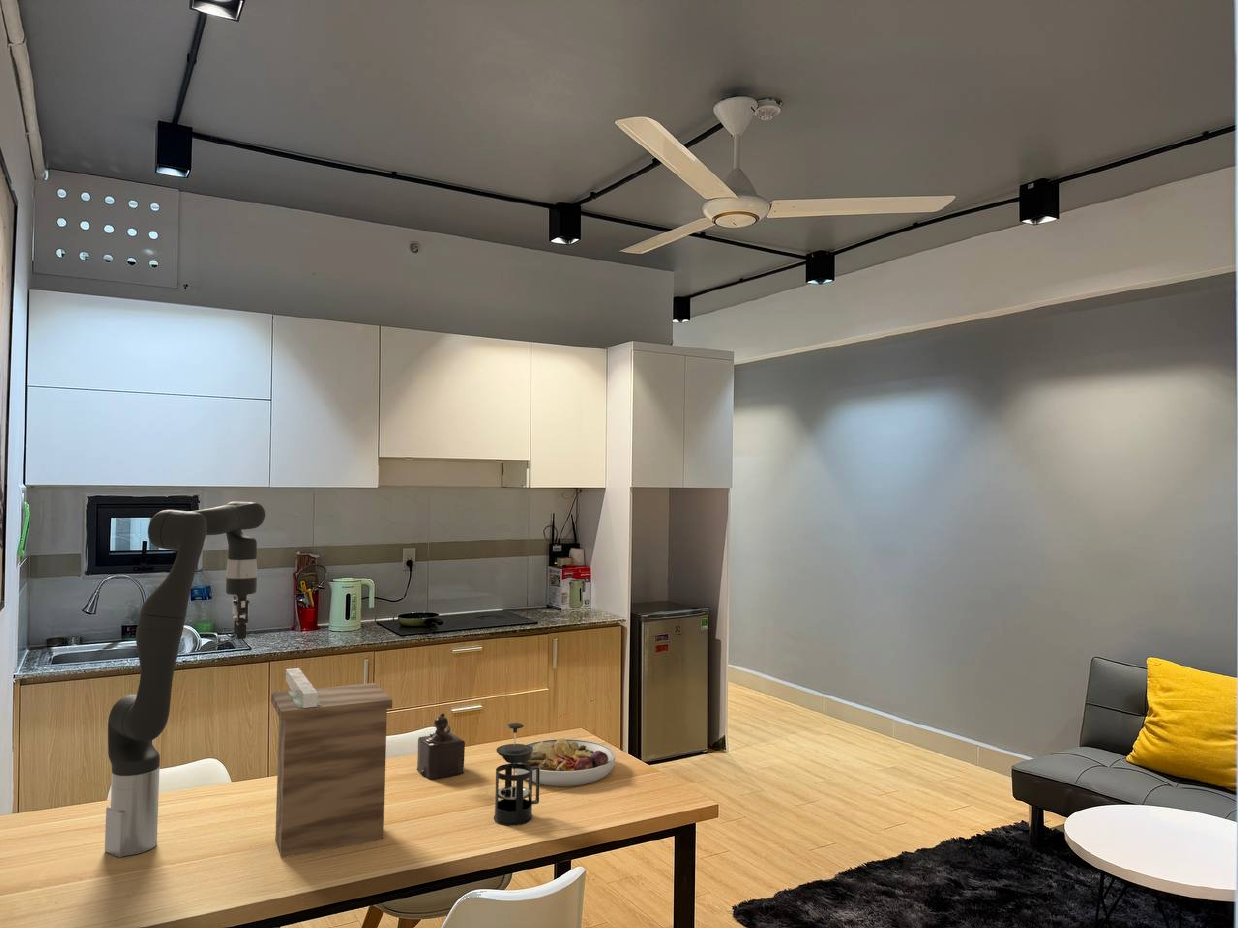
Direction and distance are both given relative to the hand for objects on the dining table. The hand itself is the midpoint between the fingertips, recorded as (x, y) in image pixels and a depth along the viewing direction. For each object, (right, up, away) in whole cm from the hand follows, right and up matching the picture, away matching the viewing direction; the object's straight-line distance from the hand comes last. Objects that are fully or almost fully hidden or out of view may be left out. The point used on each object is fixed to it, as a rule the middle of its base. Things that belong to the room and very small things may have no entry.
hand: (239, 636), depth 223 cm
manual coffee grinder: (+52, -42, +11) cm, 68 cm away
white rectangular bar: (+27, -8, -28) cm, 40 cm away
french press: (+76, -41, -18) cm, 89 cm away
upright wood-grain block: (+34, -40, -30) cm, 61 cm away
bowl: (+86, -43, +17) cm, 97 cm away
